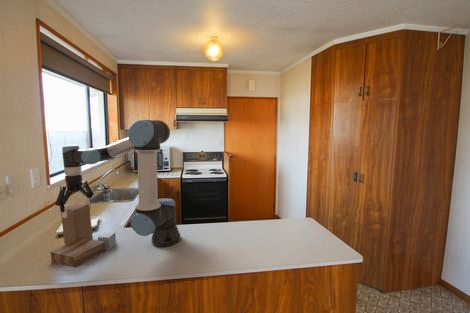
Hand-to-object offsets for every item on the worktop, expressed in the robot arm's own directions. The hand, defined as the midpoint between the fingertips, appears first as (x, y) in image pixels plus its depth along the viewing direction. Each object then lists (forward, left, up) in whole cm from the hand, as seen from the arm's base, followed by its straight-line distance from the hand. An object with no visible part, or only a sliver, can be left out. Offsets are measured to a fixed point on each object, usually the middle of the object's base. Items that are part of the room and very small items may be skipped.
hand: (77, 213), depth 136 cm
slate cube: (-17, -2, -17) cm, 24 cm away
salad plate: (+21, -16, -17) cm, 31 cm away
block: (+2, -1, -17) cm, 17 cm away
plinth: (-13, +11, -17) cm, 24 cm away
